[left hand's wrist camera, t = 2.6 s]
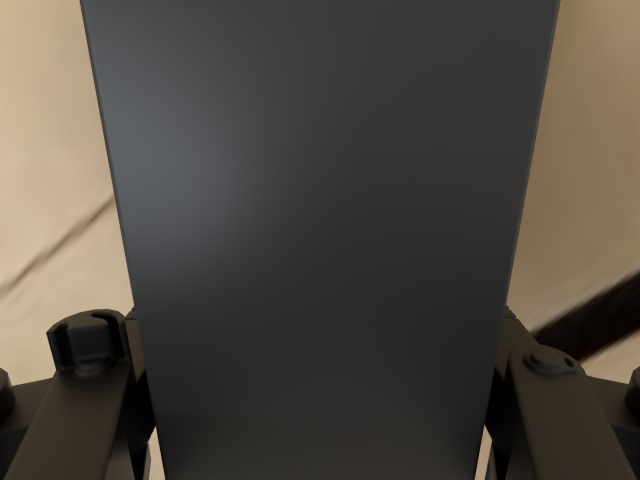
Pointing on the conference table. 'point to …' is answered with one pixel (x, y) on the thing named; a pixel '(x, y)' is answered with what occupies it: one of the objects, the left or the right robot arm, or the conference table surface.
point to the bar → (319, 222)
